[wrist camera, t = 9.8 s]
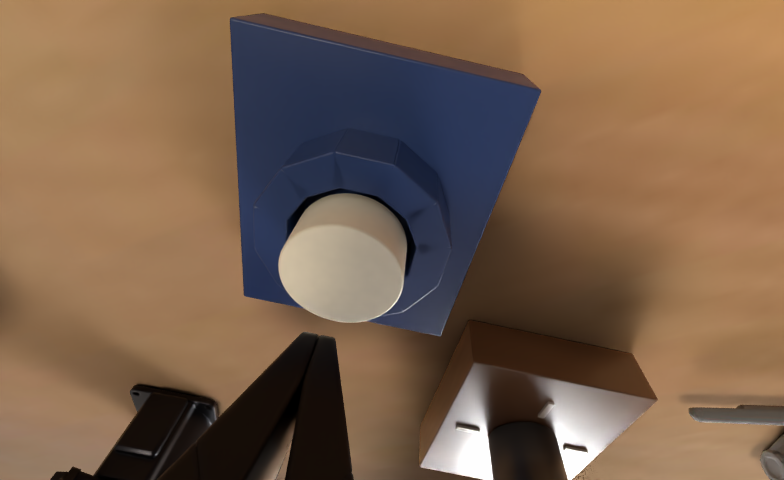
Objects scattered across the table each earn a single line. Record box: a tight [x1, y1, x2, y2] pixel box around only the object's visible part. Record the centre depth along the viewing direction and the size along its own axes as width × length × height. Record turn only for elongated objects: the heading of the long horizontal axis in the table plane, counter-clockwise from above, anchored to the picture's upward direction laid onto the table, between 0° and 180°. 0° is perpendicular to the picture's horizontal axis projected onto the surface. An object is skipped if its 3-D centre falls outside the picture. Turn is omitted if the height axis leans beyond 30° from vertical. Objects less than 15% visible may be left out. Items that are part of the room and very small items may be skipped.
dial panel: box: [419, 320, 658, 480], centre depth 23 cm, size 12×10×3 cm
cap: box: [278, 193, 407, 323], centre depth 12 cm, size 4×4×2 cm
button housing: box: [230, 13, 541, 336], centre depth 15 cm, size 12×10×5 cm
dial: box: [488, 422, 568, 480], centre depth 20 cm, size 4×4×4 cm
